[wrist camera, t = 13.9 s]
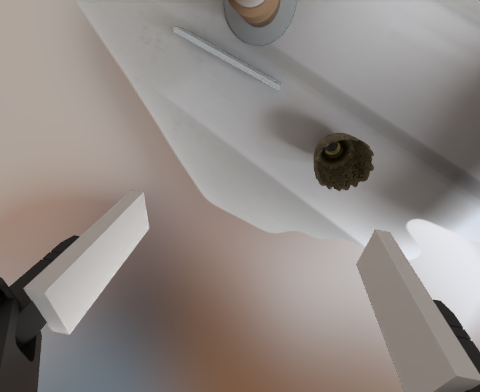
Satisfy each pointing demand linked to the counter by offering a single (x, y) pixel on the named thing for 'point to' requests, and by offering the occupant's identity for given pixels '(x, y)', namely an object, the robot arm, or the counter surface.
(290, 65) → the counter surface
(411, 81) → the counter surface
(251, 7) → the pepper mill
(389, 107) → the counter surface
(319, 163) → the cup
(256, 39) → the coaster
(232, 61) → the acrylic wall
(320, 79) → the counter surface
